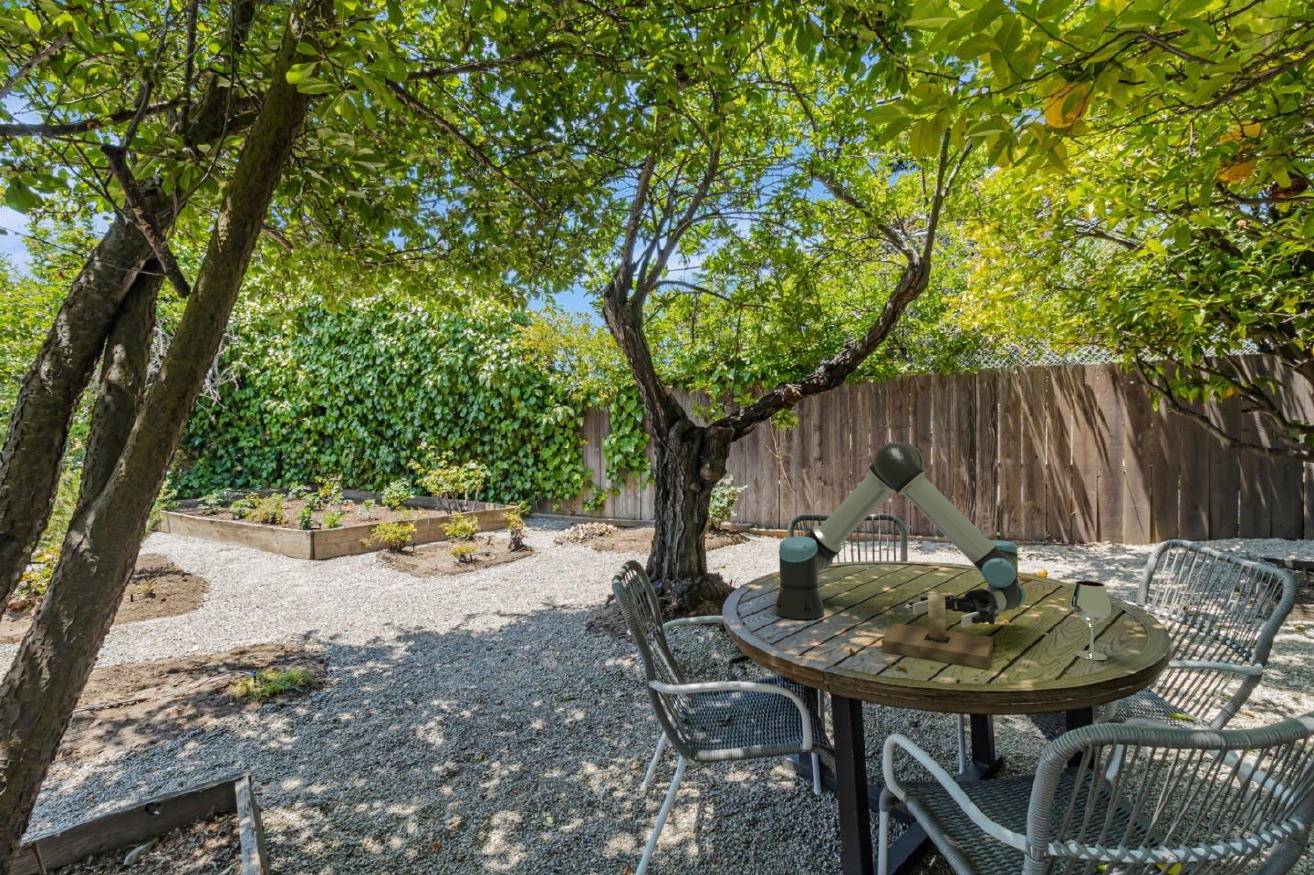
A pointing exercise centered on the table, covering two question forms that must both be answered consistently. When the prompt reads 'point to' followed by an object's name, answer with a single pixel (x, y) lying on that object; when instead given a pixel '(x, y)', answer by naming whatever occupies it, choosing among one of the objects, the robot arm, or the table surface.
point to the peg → (937, 618)
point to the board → (939, 646)
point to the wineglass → (1090, 610)
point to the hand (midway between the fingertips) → (937, 615)
